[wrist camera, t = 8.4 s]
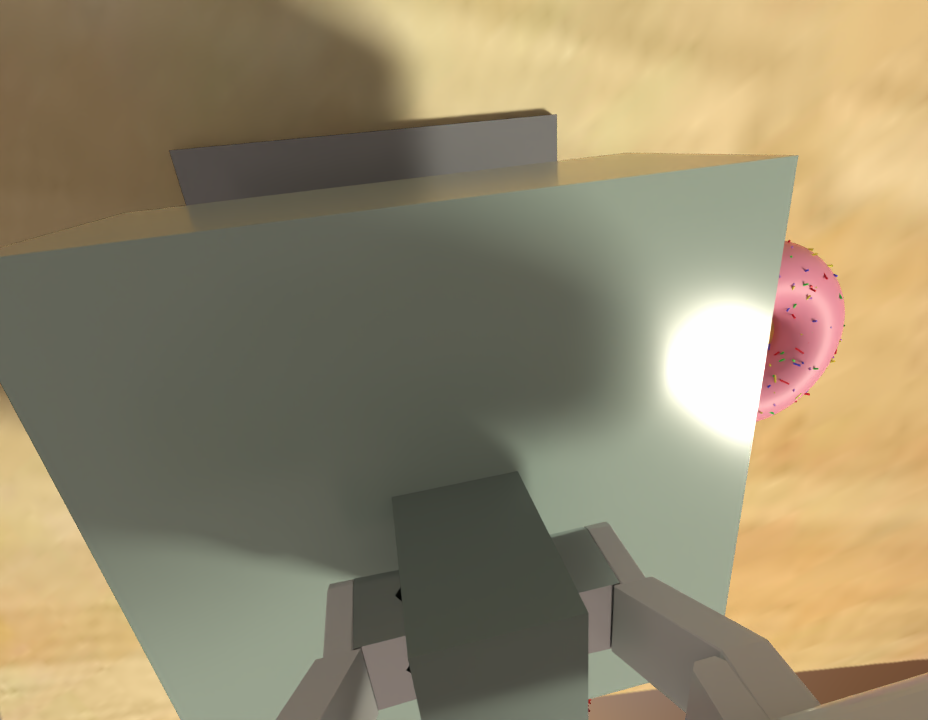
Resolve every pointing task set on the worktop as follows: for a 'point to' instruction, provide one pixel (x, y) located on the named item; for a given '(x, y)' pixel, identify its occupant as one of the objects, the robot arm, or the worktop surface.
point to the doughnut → (800, 329)
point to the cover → (403, 413)
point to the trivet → (361, 158)
